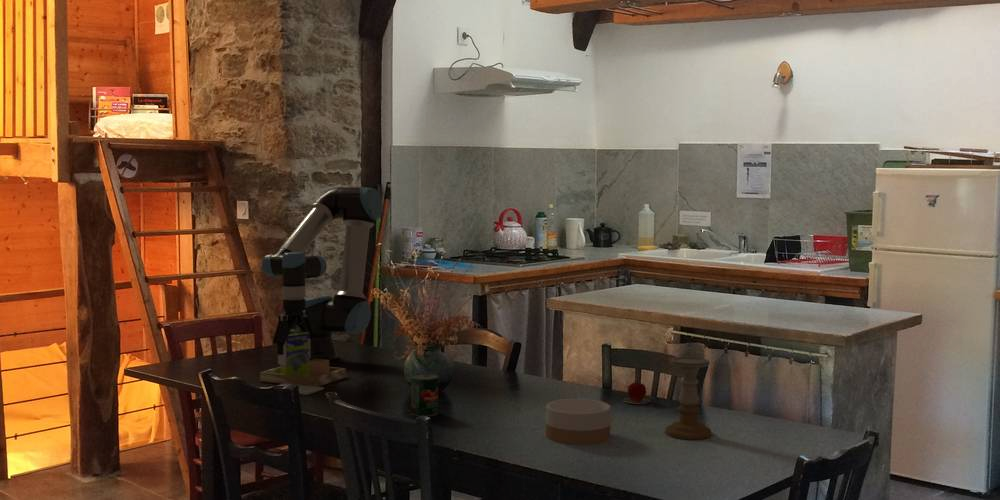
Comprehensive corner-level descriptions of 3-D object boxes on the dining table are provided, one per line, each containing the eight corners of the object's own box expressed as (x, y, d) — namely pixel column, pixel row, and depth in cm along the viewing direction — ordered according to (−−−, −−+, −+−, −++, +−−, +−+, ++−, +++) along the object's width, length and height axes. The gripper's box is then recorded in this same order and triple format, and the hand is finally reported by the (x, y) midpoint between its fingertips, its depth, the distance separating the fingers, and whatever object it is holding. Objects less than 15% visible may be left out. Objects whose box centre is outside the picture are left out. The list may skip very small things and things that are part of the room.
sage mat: (285, 384, 337) (285, 383, 337) (323, 389, 330) (323, 387, 330) (268, 390, 329) (268, 388, 329) (307, 394, 322) (306, 392, 322)
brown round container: (563, 448, 263) (564, 416, 263) (535, 432, 279) (535, 401, 278) (622, 441, 270) (622, 409, 270) (590, 425, 286) (591, 396, 285)
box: (286, 381, 342) (286, 330, 341) (278, 380, 344) (278, 328, 343) (311, 376, 350) (310, 326, 349) (302, 375, 353) (302, 325, 351)
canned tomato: (431, 417, 294) (431, 379, 293) (406, 415, 297) (406, 377, 296) (442, 411, 301) (442, 374, 300) (418, 409, 304) (418, 372, 303)
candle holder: (719, 438, 273) (721, 363, 271) (677, 441, 270) (679, 365, 268) (698, 426, 285) (699, 354, 283) (657, 429, 281) (658, 357, 280)
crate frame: (292, 371, 359) (292, 363, 358) (346, 377, 349) (346, 368, 349) (260, 381, 342) (260, 372, 342) (315, 387, 333) (314, 378, 333)
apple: (630, 398, 320) (631, 377, 319) (654, 401, 315) (654, 380, 315) (618, 402, 313) (618, 381, 313) (641, 406, 309) (642, 385, 308)
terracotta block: (316, 379, 346) (316, 358, 345) (329, 380, 344) (329, 360, 343) (309, 381, 342) (309, 360, 342) (322, 382, 340) (322, 362, 340)
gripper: (306, 293, 358) (307, 354, 360) (261, 301, 335) (262, 366, 337) (324, 295, 355) (325, 356, 356) (280, 303, 332) (280, 368, 334)
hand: (294, 361), depth 347 cm, fingers open, 13 cm apart
